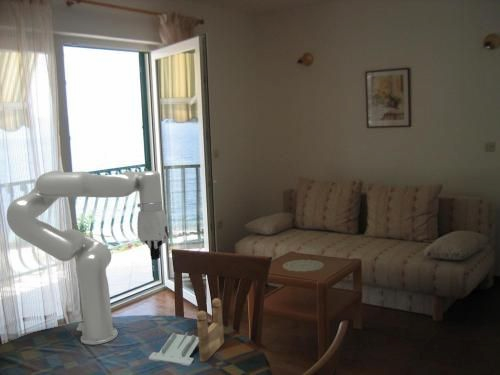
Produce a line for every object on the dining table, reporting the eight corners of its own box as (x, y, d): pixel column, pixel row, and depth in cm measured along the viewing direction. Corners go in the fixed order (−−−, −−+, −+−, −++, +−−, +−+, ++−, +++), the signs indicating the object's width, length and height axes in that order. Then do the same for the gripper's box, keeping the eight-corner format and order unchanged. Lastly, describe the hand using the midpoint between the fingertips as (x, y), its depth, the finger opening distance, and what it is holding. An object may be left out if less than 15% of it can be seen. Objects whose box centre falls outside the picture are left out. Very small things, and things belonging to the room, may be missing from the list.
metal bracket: (167, 327, 170) (206, 332, 165) (171, 340, 173) (210, 346, 167) (145, 356, 158) (186, 363, 153) (149, 371, 161) (190, 378, 155)
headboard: (198, 360, 157) (195, 312, 155) (217, 341, 170) (214, 296, 168) (207, 362, 156) (203, 313, 154) (225, 342, 169) (222, 297, 167)
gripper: (126, 208, 173) (131, 260, 175) (164, 209, 167) (169, 262, 170) (138, 204, 180) (143, 254, 182) (175, 205, 174) (179, 256, 177)
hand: (155, 258), depth 176 cm, fingers closed
